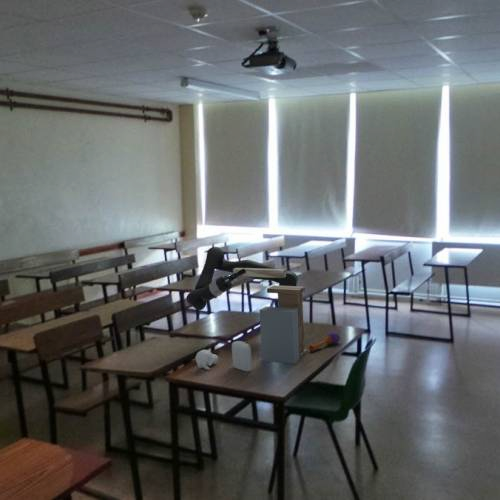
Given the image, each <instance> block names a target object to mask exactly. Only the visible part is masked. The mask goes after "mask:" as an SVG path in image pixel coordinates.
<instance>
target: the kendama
mask: <svg viewBox="0 0 500 500" xmlns="http://www.w3.org/2000/svg"><path fill="white" fill-rule="evenodd" d="M324 339H325V340H324V341H321V342H317V343H314V344H311V345H309V346H308V350H309V351H310V352H312V353H314V352H315V351H317V350H319V349H320V348H321V347H322V346H323V345H325V344H328V345H331V344H332V345H336V344H337V343H339V341H340V339H341V338H340V335H339V333H337V332H336V331H330V332H329V334H328V335H327V336H326V338H324Z"/></svg>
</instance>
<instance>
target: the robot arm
mask: <svg viewBox="0 0 500 500" xmlns="http://www.w3.org/2000/svg"><path fill="white" fill-rule="evenodd" d="M204 261H205V262H204V266H203V268H202V269H201V272H200V275H199V278H198V280H197V282H196V284H195V285H194V286H195V287H194V290H191V291H190V292H189V293H188V294H187V295H186V302H187V303H188V304H189V305H190V306H192V307H193V308H194V309H195V310H196V311H202V310H204V309H205V308H206V306H207V302H208V301H211V300H213V299H215V298H216V297H218V296H220V295H222V294H224V293H225V292H228V291H229V290H230V289H232V287H233V283H235V282H237V281H238V280H239V279H241V278H242V277H243V276H241V275H242V274H244V273H246V271H245V269H244V268H257V269H278V268H277V267H273V266H270V265H267V264H264V263H261V262H258V261H253V260H251V259H241V260H237V261H236V260H235V261H233V260H232V261H231V260H227V259H225V258H224V251H223V249H222V248H221V247H218V246H212V247H210V248H209V249H208V250H207V251H206V258H205V260H204ZM235 268H243V269H241V270H240V271H238V272H236V273H233V269H235ZM215 271H223V272H227V273H231V274H229V275H225V274H222V275H221V276H219V277H217V278H216V279H214V280H213V278H214V274H215ZM248 278H249V279H252V280H259V281H260V280H261V281H270V282H271V281H272V282H274V283H276V284H277V283H278V286H297V284H298V280H299V278H298V276H297V274H296V273H295V272H294V271H292V270H287V269H286V277H284V278H271V277H248Z"/></svg>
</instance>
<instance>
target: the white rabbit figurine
mask: <svg viewBox="0 0 500 500" xmlns="http://www.w3.org/2000/svg"><path fill="white" fill-rule="evenodd" d="M194 359H195V362H196V364H197V367H198V368H199V369H204V370H209V371H210V369H211V368H210V366H212V365H216V364H217V363H218V361H219V357H218V355H217V354H213V353H212V352H211V351H210V350H207V349H202V350H200V351H198V352H197V353H196V356H195V357H194ZM207 364H208V365H207Z"/></svg>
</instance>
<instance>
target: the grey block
mask: <svg viewBox="0 0 500 500" xmlns="http://www.w3.org/2000/svg"><path fill="white" fill-rule="evenodd" d="M259 326H260V327H259V331H260V352H261V361H262V362H263V361H264V362H271V363H280V364H281V363H282V364H290V365H295V364H296V363H297V362H299V360H300V359H301V357H300V354H299V328H298V308H283V307H277V306H264V307H262V308H260V309H259Z"/></svg>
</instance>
